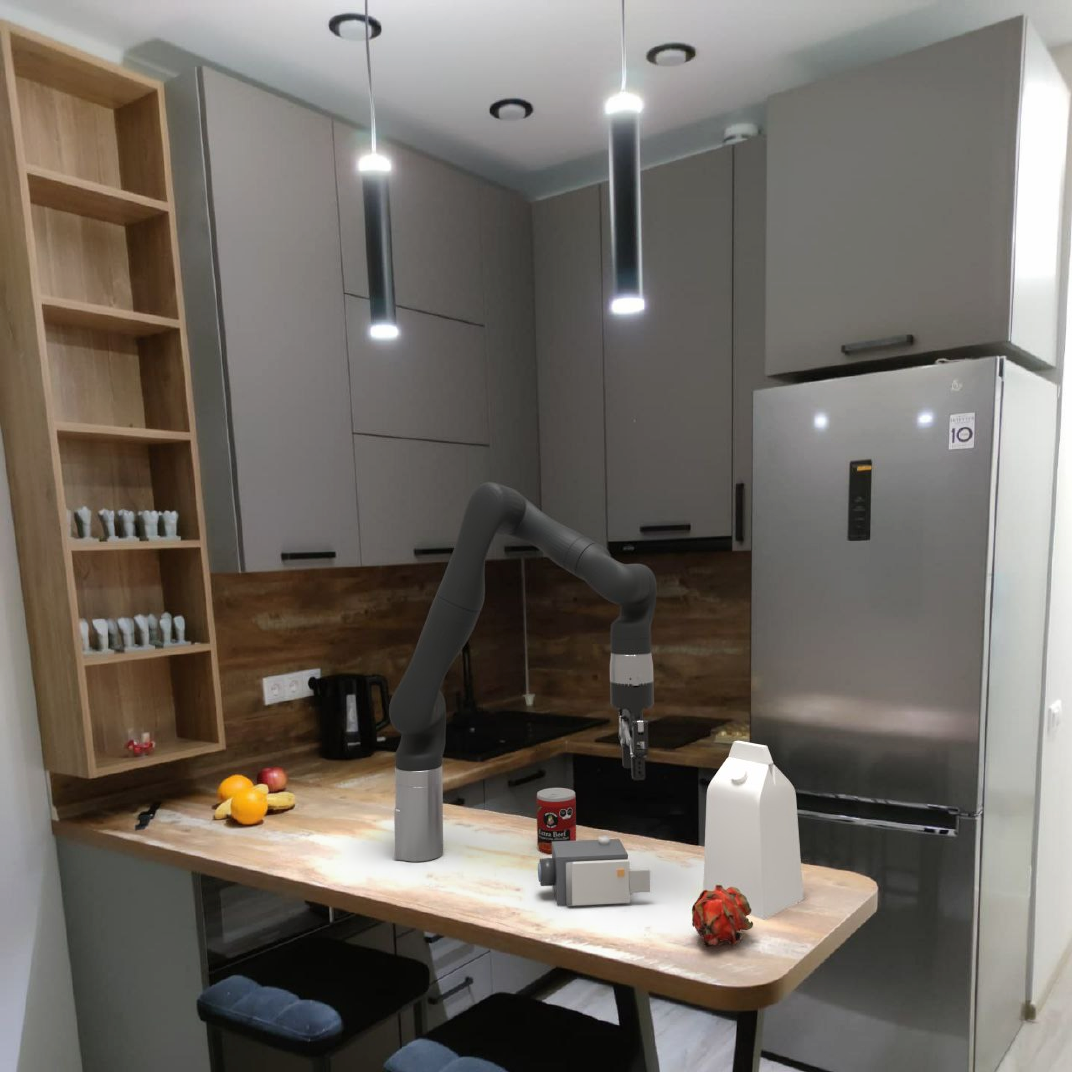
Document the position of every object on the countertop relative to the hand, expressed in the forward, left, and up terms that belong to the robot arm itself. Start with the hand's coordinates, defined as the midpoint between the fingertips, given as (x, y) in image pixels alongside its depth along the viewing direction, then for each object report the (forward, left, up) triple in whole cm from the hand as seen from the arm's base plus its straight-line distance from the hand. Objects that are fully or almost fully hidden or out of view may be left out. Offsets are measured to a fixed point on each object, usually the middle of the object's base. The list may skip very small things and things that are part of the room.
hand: (633, 773), depth 151 cm
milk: (+19, -6, -20) cm, 28 cm away
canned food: (-11, +23, -20) cm, 33 cm away
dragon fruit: (+9, -21, -20) cm, 30 cm away
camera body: (-9, -1, -20) cm, 22 cm away
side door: (-6, -6, -20) cm, 21 cm away
